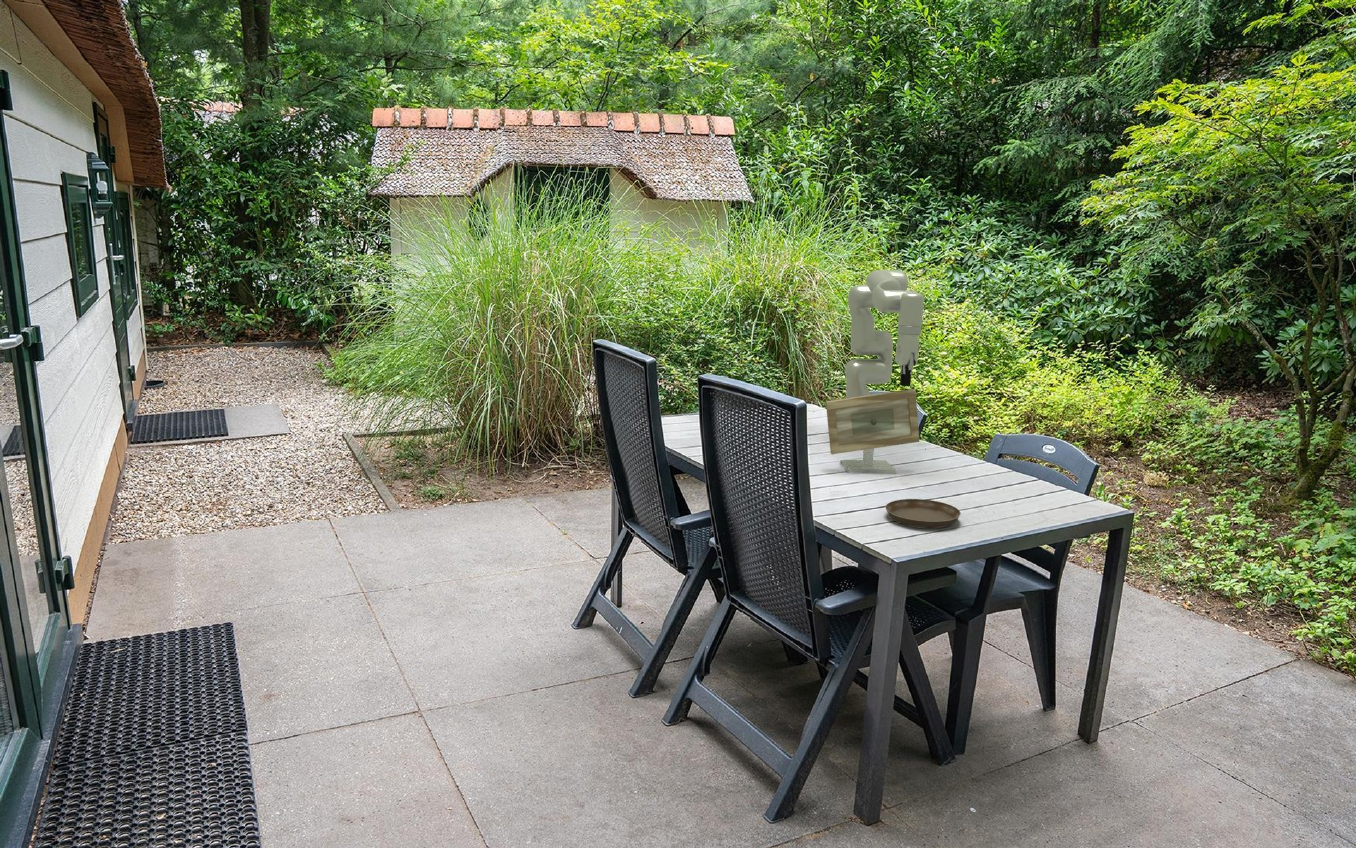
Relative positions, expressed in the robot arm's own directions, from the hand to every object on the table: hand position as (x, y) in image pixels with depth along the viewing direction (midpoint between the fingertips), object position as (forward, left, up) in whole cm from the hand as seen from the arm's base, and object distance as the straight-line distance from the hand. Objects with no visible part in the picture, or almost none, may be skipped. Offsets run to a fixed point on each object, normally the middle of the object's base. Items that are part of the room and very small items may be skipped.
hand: (905, 385), depth 311 cm
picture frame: (0, -9, -21) cm, 23 cm away
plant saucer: (+53, -9, -30) cm, 61 cm away
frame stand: (-3, -10, -29) cm, 31 cm away
